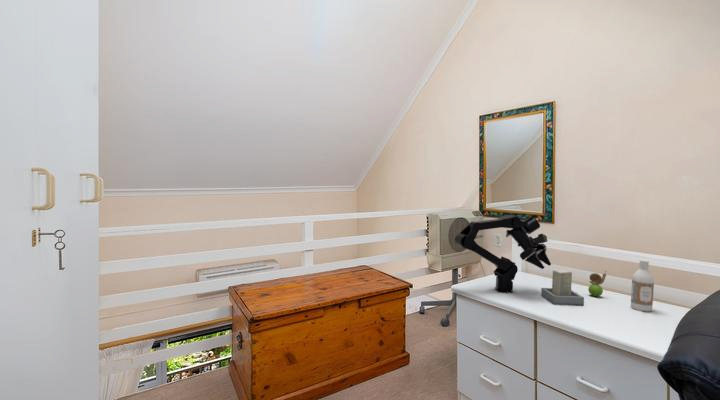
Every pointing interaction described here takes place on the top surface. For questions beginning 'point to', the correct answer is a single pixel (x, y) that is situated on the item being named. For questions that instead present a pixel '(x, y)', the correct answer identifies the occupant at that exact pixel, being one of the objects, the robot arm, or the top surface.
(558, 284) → the skincare box
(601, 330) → the top surface
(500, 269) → the robot arm
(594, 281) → the snail figurine
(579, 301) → the box
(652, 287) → the bath foam
